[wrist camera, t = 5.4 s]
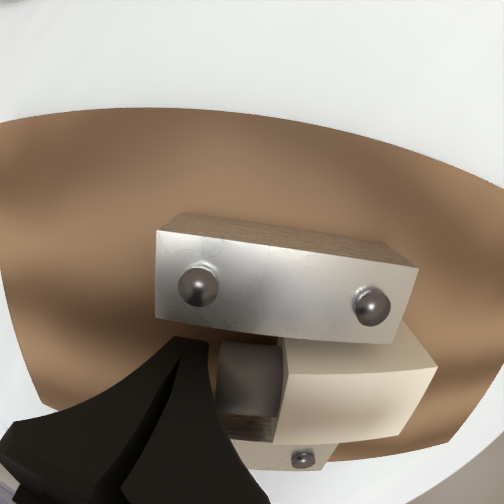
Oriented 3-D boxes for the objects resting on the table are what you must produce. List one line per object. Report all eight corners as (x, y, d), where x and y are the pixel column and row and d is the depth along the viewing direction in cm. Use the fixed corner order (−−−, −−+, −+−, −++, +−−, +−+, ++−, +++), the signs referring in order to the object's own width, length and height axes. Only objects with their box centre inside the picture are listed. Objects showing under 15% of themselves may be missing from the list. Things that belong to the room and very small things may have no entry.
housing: (314, 432, 12) (321, 475, 10) (177, 418, 12) (165, 461, 10) (385, 243, 9) (424, 272, 7) (182, 212, 9) (152, 233, 7)
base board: (443, 433, 15) (447, 442, 14) (48, 394, 14) (41, 402, 13) (544, 215, 9) (555, 219, 9) (11, 123, 9) (-3, 123, 8)
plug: (223, 382, 11) (214, 440, 8) (226, 310, 10) (213, 368, 7) (391, 383, 11) (414, 431, 8) (417, 319, 10) (454, 364, 7)
